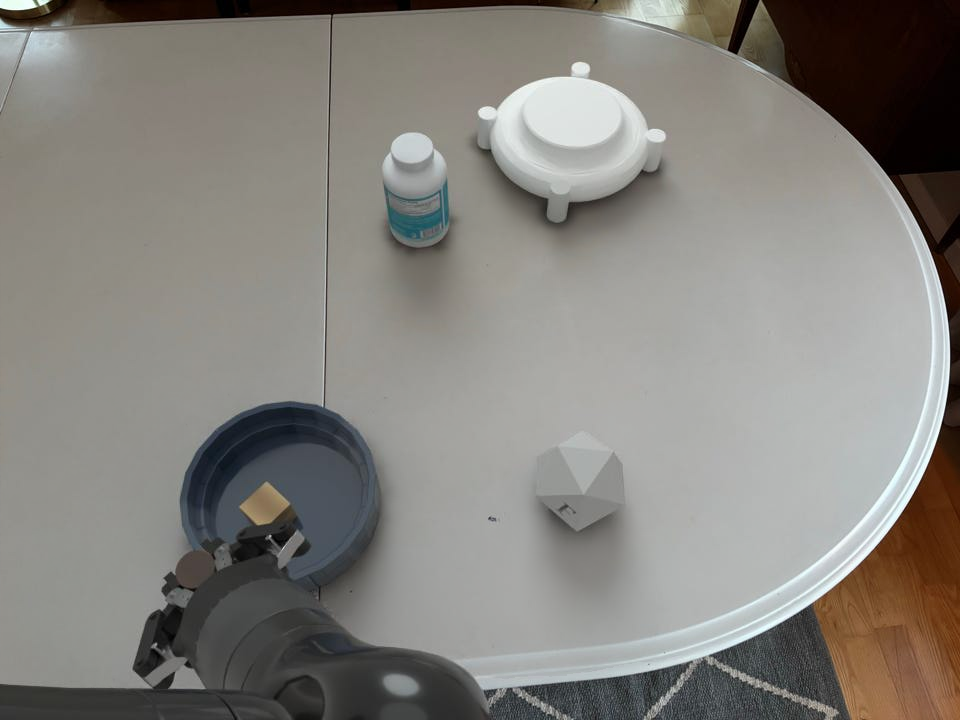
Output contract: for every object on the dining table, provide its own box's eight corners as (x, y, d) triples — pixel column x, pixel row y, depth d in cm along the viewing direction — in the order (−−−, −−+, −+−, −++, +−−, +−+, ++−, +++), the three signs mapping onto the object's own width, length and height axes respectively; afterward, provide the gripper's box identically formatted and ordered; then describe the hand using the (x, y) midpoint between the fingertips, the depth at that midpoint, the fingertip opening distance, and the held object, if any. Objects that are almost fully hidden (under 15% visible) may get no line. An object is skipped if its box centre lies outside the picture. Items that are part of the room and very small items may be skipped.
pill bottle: (410, 196, 101) (401, 114, 89) (460, 218, 99) (458, 137, 87) (378, 236, 97) (365, 156, 86) (429, 259, 96) (423, 181, 84)
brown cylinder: (228, 628, 64) (191, 597, 55) (206, 605, 65) (167, 570, 56) (255, 602, 65) (223, 567, 56) (233, 579, 66) (198, 541, 57)
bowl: (281, 640, 73) (269, 628, 69) (157, 512, 79) (139, 494, 75) (418, 498, 80) (415, 479, 76) (295, 391, 86) (285, 368, 82)
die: (517, 471, 82) (516, 499, 73) (574, 408, 81) (581, 427, 71) (578, 524, 83) (585, 559, 73) (636, 462, 82) (652, 489, 72)
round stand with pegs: (460, 209, 100) (460, 168, 94) (493, 81, 112) (494, 38, 106) (651, 236, 98) (663, 197, 92) (663, 103, 110) (674, 60, 104)
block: (271, 542, 77) (262, 530, 74) (247, 519, 78) (238, 506, 75) (297, 516, 79) (290, 503, 75) (274, 494, 80) (266, 481, 77)
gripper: (314, 513, 47) (233, 467, 62) (118, 702, 42) (80, 604, 56) (385, 595, 50) (292, 533, 65) (209, 782, 45) (151, 669, 59)
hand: (193, 566), depth 60 cm, fingers closed on brown cylinder, 3 cm apart
